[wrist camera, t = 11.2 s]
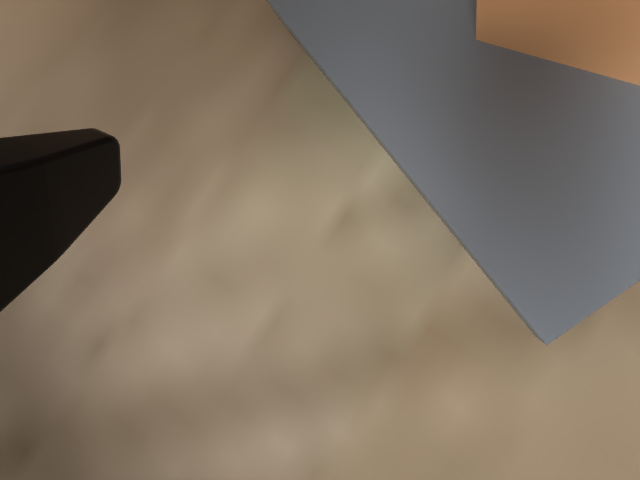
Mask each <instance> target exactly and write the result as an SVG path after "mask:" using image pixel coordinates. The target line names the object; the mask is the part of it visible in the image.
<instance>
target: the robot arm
mask: <svg viewBox="0 0 640 480" xmlns="http://www.w3.org/2000/svg"><path fill="white" fill-rule="evenodd" d="M120 184H121V162H120V145H119V142H118V140H117V139H116V138H115V137H113V136H111V135H109V134H107V133H105V132H102V131H100V130H98V129H94V128H89V129H80V130H70V131H61V132H52V133H42V134H33V135H23V136H14V137H5V138H0V312H1V311H2V310H3V309H4V308H5V307H6V306H7V305H8V304H10V303H11V302H12V301H13V300H14V299H15V298H16V297H17V296H18V295H19V294H21V293H22V292H23V291H24V290H25V289H26V288H27V287H28V286H29V285H30V284H32V283H33V282H34V281H35V280H36V279H37V278H38V277H39V276H40V275H41V274H43V273H44V272H45V271H46V270H47V269H48V268H49V267H50V266H51V265H52V264H53V263H54V262H55V261H56V260H57V259H58V258H59V257H60V256H61V255H62V254H63V253H64V252H65V251H66V250H67V249H68V248H69V247H70V246H71V244H72V243H73V242H74V241H75V240H76V239H77V238H78V237H79V235H80V234H81V233H82V232H83V231H84V230H85V229H86V228H87V227H88V225H89V224H90V223H91V222H92V221H93V220H94V219H95V218H96V216H97V215H98V214H99V213H100V212H101V211H102V210H103V209H104V207H105V206H106V205H107V204H108V203H109V202H110V201H111V200H112V199H113V197H114V196H115V195H116V193H117V192H118V190H119V187H120Z"/></svg>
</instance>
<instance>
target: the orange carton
mask: <svg viewBox="0 0 640 480" xmlns="http://www.w3.org/2000/svg"><path fill="white" fill-rule="evenodd" d="M476 40H478V41H482V42H485V43H489V44H493V45H496V46H500V47H503V48H507V49H510V50H514V51H518V52H521V53H525V54H528V55H532V56H535V57H539V58H543V59H546V60H550V61H553V62H557V63H561V64H564V65H568V66H571V67H575V68H578V69H582V70H586V71H589V72H593V73H596V74H600V75H603V76H607V77H611V78H614V79H618V80H621V81H625V82H629V83H632V84H636V85H639V86H640V0H477V9H476Z"/></svg>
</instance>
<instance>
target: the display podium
mask: <svg viewBox="0 0 640 480" xmlns="http://www.w3.org/2000/svg"><path fill="white" fill-rule="evenodd" d="M266 1H267V2H268V3H269V5H270V6H271V8H272V9H273V10H274V12H275V13H276V15H277V16H278V17H279V19H280V20H281V21H282V23H283V24H284V25H285V26H286V28H287V29H288V30H289V31H290V33H291V34H292V35H293V36H294V38H295V39H296V40H297V41H298V43H299V44H300V45H301V46H302V47H303V49H304V50H305V51H306V52H307V54H308V55H309V56H310V57H311V59H312V60H313V61H314V62H315V64H316V65H317V66H318V67H319V69H320V70H321V71H322V72H323V74H324V75H325V76H326V77H327V78H328V80H329V81H330V82H331V83H332V85H333V86H334V87H335V88H336V90H337V91H338V92H339V93H340V95H341V96H342V97H343V98H344V100H345V101H346V102H347V103H348V104H349V106H350V107H351V108H352V109H353V111H354V112H355V113H356V114H357V116H358V117H359V118H360V119H361V121H362V122H363V123H364V124H365V126H366V127H367V128H368V129H369V131H370V132H371V133H372V134H373V135H374V137H375V138H376V139H377V140H378V142H379V143H380V144H381V145H382V147H383V148H384V149H385V150H386V152H387V153H388V154H389V155H390V157H391V158H392V159H393V160H394V162H395V163H396V164H397V165H398V166H399V168H400V169H401V170H402V171H403V173H404V174H405V175H406V176H407V178H408V179H409V180H410V181H411V183H412V184H413V185H414V186H415V188H416V189H417V190H418V191H419V193H420V194H421V195H422V196H423V197H424V199H425V200H426V201H427V202H428V204H429V205H430V206H431V207H432V209H433V210H434V211H435V212H436V214H437V215H438V216H439V217H440V219H441V220H442V221H443V222H444V223H445V225H446V226H447V227H448V228H449V230H450V231H451V232H452V233H453V235H454V236H455V237H456V238H457V240H458V241H459V242H460V243H461V245H462V246H463V247H464V248H465V250H466V251H467V252H468V253H469V254H470V256H471V257H472V258H473V259H474V261H475V262H476V263H477V264H478V266H479V267H480V268H481V269H482V271H483V272H484V273H485V274H486V276H487V277H488V278H489V279H490V281H491V282H492V283H493V284H494V285H495V287H496V288H497V289H498V290H499V292H500V293H501V294H502V295H503V297H504V298H505V299H506V300H507V302H508V303H509V304H510V305H511V307H512V308H513V309H514V310H515V311H516V313H517V314H518V315H519V316H520V318H521V319H522V320H523V321H524V323H525V324H526V325H527V326H528V328H529V329H530V330H531V331H532V333H533V334H534V335H535V336H536V337H537V338H538V339H539V340H541V341H542V342H543V343H544V344H546V345H548V344H549V343H550V342H552V341H553V340H555V339H556V338H558V337H559V336H560V335H562V334H563V333H565V332H566V331H568V330H569V329H570V328H572V327H573V326H575V325H576V324H578V323H579V322H580V321H582V320H583V319H585V318H586V317H588V316H589V315H591V314H592V313H593V312H595V311H596V310H598V309H599V308H601V307H602V306H603V305H605V304H606V303H608V302H609V301H611V300H612V299H613V298H615V297H616V296H618V295H619V294H621V293H622V292H623V291H625V290H626V289H628V288H629V287H631V286H632V285H633V284H635V283H636V282H638V281H639V280H640V86H639V85H636V84H632V83H629V82H625V81H621V80H618V79H614V78H611V77H607V76H603V75H600V74H596V73H593V72H589V71H586V70H582V69H578V68H575V67H571V66H568V65H564V64H561V63H557V62H553V61H550V60H546V59H543V58H539V57H535V56H532V55H528V54H525V53H521V52H518V51H514V50H510V49H507V48H503V47H500V46H496V45H493V44H489V43H485V42H482V41H478V40H476V9H477V0H266Z"/></svg>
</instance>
